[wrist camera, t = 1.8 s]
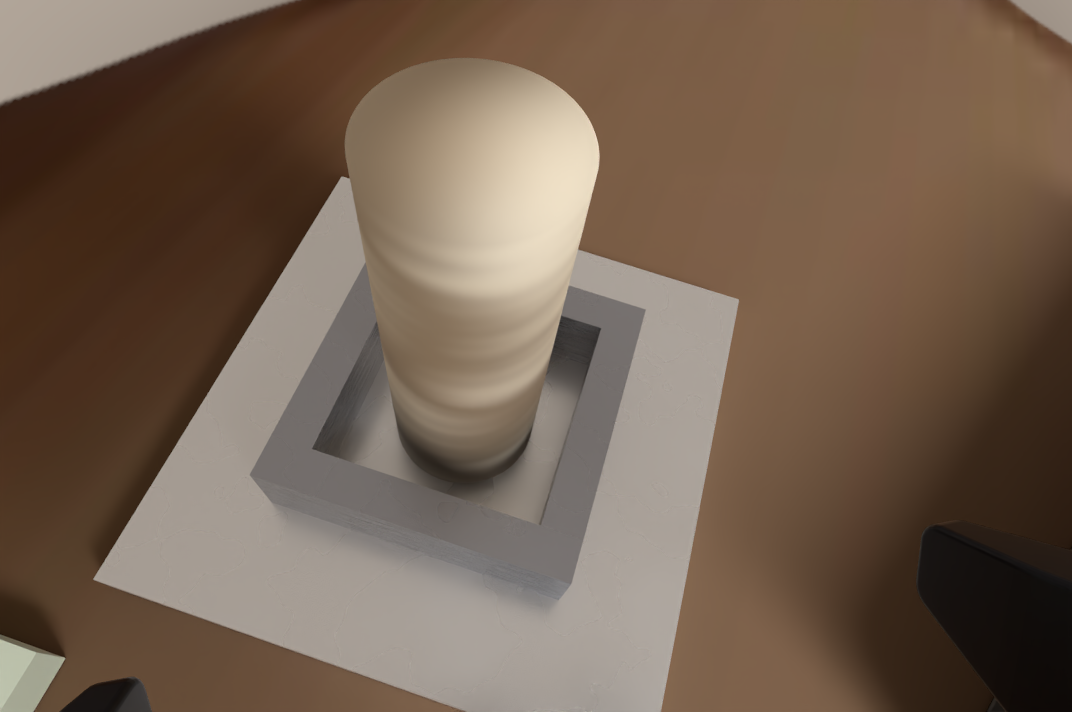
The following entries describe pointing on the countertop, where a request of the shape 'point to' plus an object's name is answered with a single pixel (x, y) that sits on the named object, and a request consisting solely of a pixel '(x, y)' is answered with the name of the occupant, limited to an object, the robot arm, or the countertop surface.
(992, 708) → the cash box
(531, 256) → the ash peg
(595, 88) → the countertop surface
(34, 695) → the green pad
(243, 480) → the grey square socket base
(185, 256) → the countertop surface
